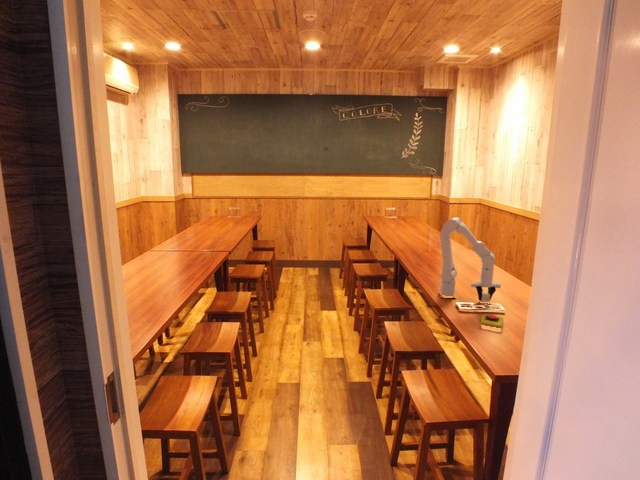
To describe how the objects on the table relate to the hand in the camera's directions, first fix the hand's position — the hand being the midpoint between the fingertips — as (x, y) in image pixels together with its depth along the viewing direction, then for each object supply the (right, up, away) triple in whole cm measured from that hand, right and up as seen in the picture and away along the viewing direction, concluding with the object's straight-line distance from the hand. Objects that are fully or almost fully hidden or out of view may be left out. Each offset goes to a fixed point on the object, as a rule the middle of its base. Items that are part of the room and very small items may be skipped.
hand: (484, 300), depth 209 cm
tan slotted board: (-6, -4, -8) cm, 10 cm away
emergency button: (-7, -8, -26) cm, 28 cm away
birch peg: (0, -2, 0) cm, 2 cm away
